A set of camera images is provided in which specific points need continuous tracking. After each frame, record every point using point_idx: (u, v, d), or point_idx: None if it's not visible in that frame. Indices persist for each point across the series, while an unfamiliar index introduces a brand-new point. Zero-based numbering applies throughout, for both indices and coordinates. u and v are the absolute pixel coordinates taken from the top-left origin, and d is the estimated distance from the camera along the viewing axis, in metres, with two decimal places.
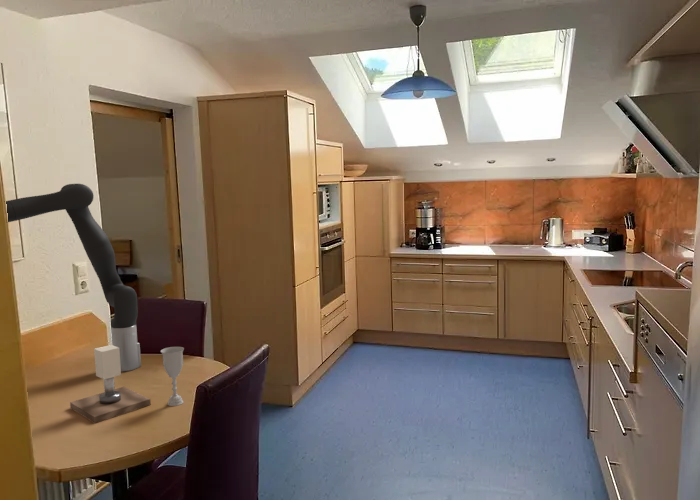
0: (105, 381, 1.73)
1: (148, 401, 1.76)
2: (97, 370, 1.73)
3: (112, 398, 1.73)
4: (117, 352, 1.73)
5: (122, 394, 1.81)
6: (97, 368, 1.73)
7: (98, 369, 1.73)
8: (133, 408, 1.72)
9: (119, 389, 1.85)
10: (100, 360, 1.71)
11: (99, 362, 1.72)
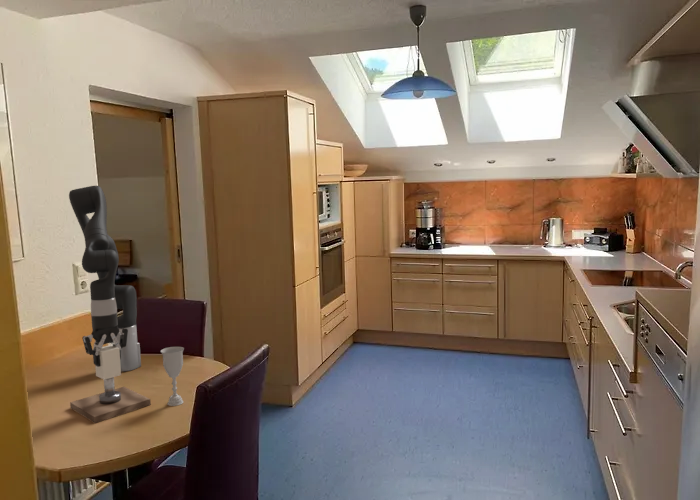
0: (105, 381, 1.73)
1: (148, 401, 1.76)
2: (97, 370, 1.73)
3: (112, 398, 1.73)
4: (117, 352, 1.73)
5: (122, 394, 1.81)
6: (97, 368, 1.73)
7: (98, 369, 1.73)
8: (133, 408, 1.72)
9: (119, 389, 1.85)
10: (100, 360, 1.71)
11: None
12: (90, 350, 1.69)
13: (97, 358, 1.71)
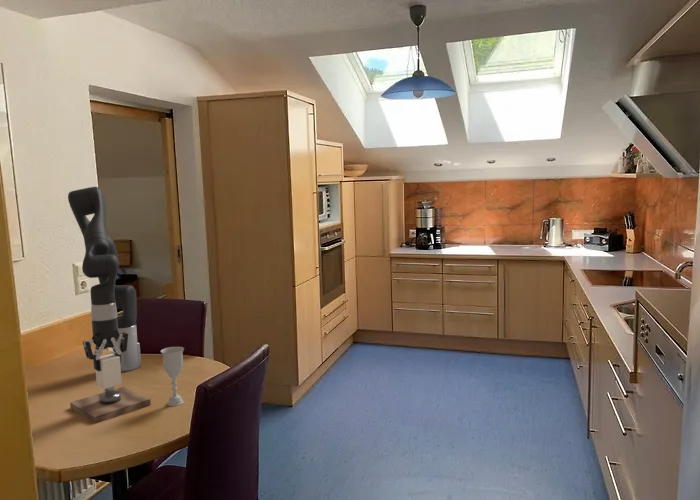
0: None
1: (148, 401, 1.76)
2: (98, 379, 1.74)
3: (112, 398, 1.73)
4: (118, 361, 1.74)
5: (122, 394, 1.81)
6: (98, 377, 1.73)
7: (99, 378, 1.73)
8: (133, 408, 1.72)
9: (119, 389, 1.85)
10: (101, 370, 1.71)
11: (100, 371, 1.72)
12: (90, 355, 1.69)
13: (97, 363, 1.71)
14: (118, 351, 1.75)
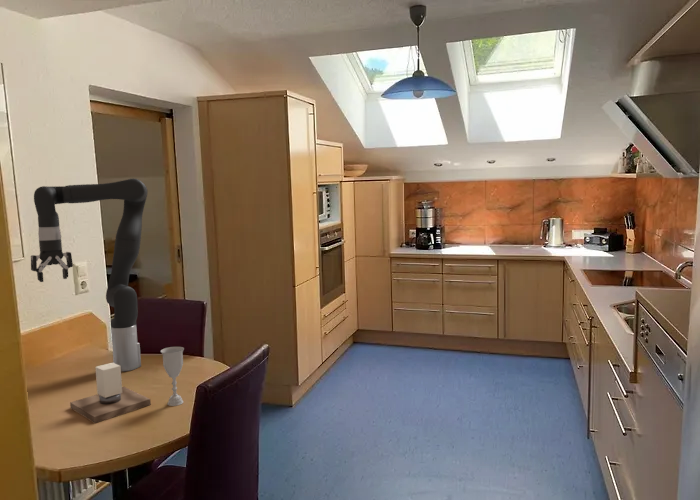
0: None
1: (148, 401, 1.76)
2: (98, 388, 1.74)
3: (112, 398, 1.73)
4: (118, 370, 1.74)
5: (122, 394, 1.81)
6: (99, 386, 1.74)
7: (99, 387, 1.73)
8: (133, 408, 1.72)
9: None
10: (101, 379, 1.72)
11: (100, 380, 1.72)
12: (34, 267, 2.03)
13: (40, 275, 2.05)
14: (65, 266, 2.11)
